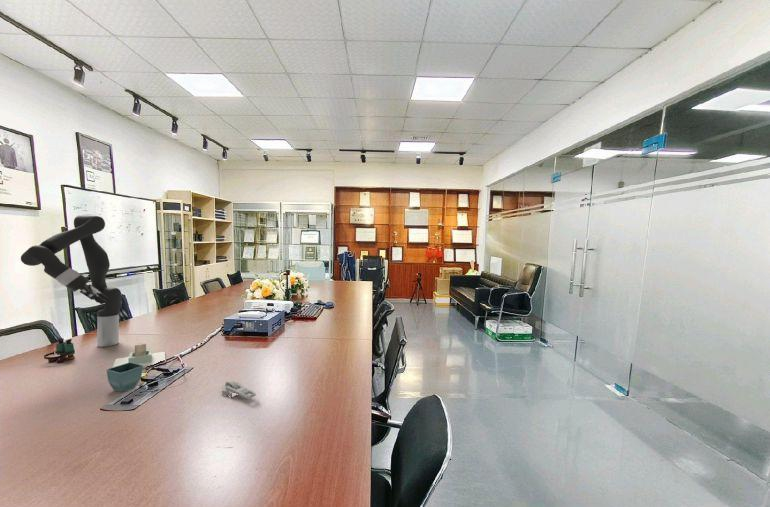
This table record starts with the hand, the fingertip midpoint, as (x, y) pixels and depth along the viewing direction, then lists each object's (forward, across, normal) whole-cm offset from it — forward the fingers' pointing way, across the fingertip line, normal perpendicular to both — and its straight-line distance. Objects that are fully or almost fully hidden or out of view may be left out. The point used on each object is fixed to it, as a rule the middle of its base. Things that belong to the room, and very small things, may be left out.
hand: (105, 301), depth 151 cm
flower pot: (+28, -42, +14) cm, 53 cm away
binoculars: (+9, +11, +34) cm, 37 cm away
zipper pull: (+54, -74, -12) cm, 93 cm away
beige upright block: (+31, -12, +11) cm, 35 cm away
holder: (+31, -12, +12) cm, 36 cm away
